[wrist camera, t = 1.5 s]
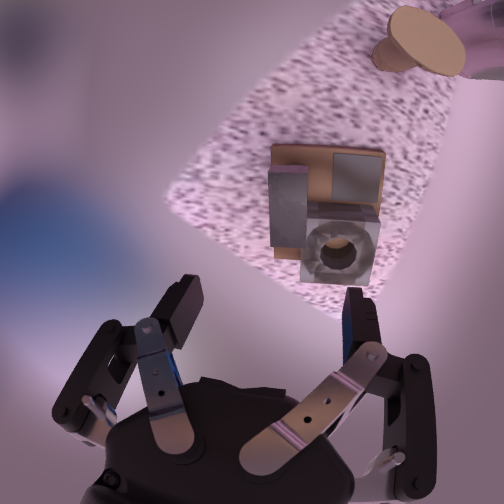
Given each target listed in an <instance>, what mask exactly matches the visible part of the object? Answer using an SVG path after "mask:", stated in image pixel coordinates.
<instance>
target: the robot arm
mask: <svg viewBox="0 0 504 504" xmlns="http://www.w3.org/2000/svg"><path fill="white" fill-rule="evenodd" d="M440 20H441V21H443V22H444V23H445V24H447V25H448V26H449V27H450V28H451V29H452V30H453V32H454V33H455V34H456V35H457V37H458V38H459V40H460V41H461V43H462V44H463V45H464V48H465V53H466V60H465V64H464V67H463V69H462V70H461V72H460V73H459V74H458V75H460V76H462V77H465V78H469V79H488V80H501V81H504V0H485V1H482V0H465V1H462V2H460V3H458V4H456V5H454V6H452V7H450V8H448V9H446V10H444V11H442V12H440ZM203 301H204V296H203V291H202V287H201V283H200V278H199V276H198V275H192V274H185V275H184V276H183V277H182V279H181V280H180V282H175V283H174V284H173V285H172V286H170V287H169V288H168V289H167V291H166V293H165V295H164V296H163V297H162V300H160V302H159V303H158V305H157V306H156V308H155V309H154V311H153V313H152V314H151V316H150V317H147V318H143V319H141V320H140V321H138V322H137V323H136V325H135V326H122V325H121V323H120V322H119V321H118V320H115V319H112V320H108V321H106V322H104V323H103V324H102V325H101V327H100V328H99V330H98V331H97V333H96V334H95V336H94V337H93V339H92V341H91V342H90V344H89V345H88V347H87V349H86V350H85V352H84V354H83V355H82V357H81V358H80V360H79V362H78V363H77V365H76V367H75V368H74V370H73V372H72V373H71V375H70V377H69V379H68V380H67V382H66V384H65V386H64V388H63V389H62V391H61V393H60V395H59V396H58V398H57V400H56V402H55V404H54V406H53V408H52V417H53V420H54V421H55V422H56V423H58V424H59V425H60V426H61V427H63V428H64V429H65V430H66V431H67V432H68V433H70V434H71V435H72V436H74V437H75V438H77V439H78V440H81V441H82V442H84V443H85V444H87V445H88V446H98V447H100V448H103V449H105V451H106V462H105V469H104V471H103V473H102V475H101V476H100V477H99V479H98V480H97V481H96V482H94V483H93V484H92V485H91V486H90V487H89V488H88V489H87V490H86V492H85V494H84V496H83V498H82V500H81V503H80V504H374V503H380V504H404V503H408V502H411V501H415V500H418V499H421V498H424V497H426V496H427V495H428V494H430V493H431V492H432V490H433V489H434V487H435V484H436V473H437V472H436V471H437V436H436V417H435V405H434V395H433V387H432V379H431V372H430V365H429V363H428V361H427V359H426V358H425V357H423V356H422V355H419V354H410V355H408V356H407V357H406V358H405V359H404V358H400V357H397V356H393V355H391V354H389V353H388V352H387V350H386V348H385V347H384V346H383V345H382V342H381V336H380V330H379V323H378V317H377V311H376V306H375V304H374V302H373V301H372V300H371V298H363V293H362V288H357V287H347V291H346V296H345V301H344V306H343V311H342V335H343V366H342V367H341V368H340V369H339V370H338V371H337V372H332V373H331V374H330V375H329V376H328V377H327V378H325V379H324V381H322V382H321V384H319V385H318V386H317V387H316V388H315V389H314V390H313V391H312V392H311V393H310V394H309V395H308V396H307V397H305V398H304V399H303V400H302V401H301V402H299V401H297V400H295V399H294V398H292V397H289V396H286V390H285V389H276V388H268V387H259V388H246V389H241V388H238V387H235V386H233V385H231V384H228V383H226V382H224V381H221V380H217V379H212V378H207V377H201V379H200V381H199V382H194V383H189V384H185V385H183V382H182V380H181V377H180V374H179V372H178V369H177V366H176V363H175V360H174V357H173V354H172V351H173V349H174V348H176V349H180V350H181V349H182V347H183V345H184V343H185V341H186V339H187V337H188V335H189V333H190V331H191V329H192V326H193V324H194V322H195V320H196V318H197V316H198V314H199V312H200V310H201V308H202V306H203ZM113 355H114V357H113ZM112 357H113V358H112ZM111 358H112V360H111ZM110 360H111V362H110ZM109 362H110V364H109ZM137 363H138V368H139V372H140V377H141V381H142V386H143V390H144V394H145V398H146V402H147V407H145V408H143V409H142V410H140V411H138V412H136V413H135V414H133V415H131V416H129V417H128V418H126V419H124V420H122V421H120V422H119V423H117V422H116V420H117V414H116V412H115V409H116V407H117V405H118V403H119V400H120V398H121V396H122V394H123V391H124V389H125V388H126V385H127V383H128V381H129V379H130V377H131V375H132V373H133V371H134V369H135V366H136V364H137ZM108 364H109V366H108ZM367 393H371V394H374V395H377V396H381V397H384V434H383V450H382V452H381V453H380V454H379V455H377V456H376V457H375V458H373V459H372V460H371V461H370V462H369V464H368V466H367V470H366V472H365V474H364V475H363V476H362V477H361V478H354V476H353V474H352V472H351V470H350V469H349V467H348V466H347V465H346V464H345V462H344V461H343V459H342V458H341V456H340V455H339V454H338V452H337V451H336V450H335V448H334V447H333V445H332V444H331V443H330V441H329V440H328V438H329V437H330V436H331V435H332V434H333V433H334V432H335V431H336V430H337V429H338V427H339V426H340V425H341V424H342V423H343V422H344V420H345V419H346V418H347V417H348V415H349V414H350V413H351V412H352V411H353V410H354V409H355V407H356V406H357V405H358V404H359V403H360V402H361V400H362V399H363V398H364V397H365V396H366V394H367Z"/></svg>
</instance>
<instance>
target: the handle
mask: <svg viewBox="0 0 504 504" xmlns="http://www.w3.org/2000/svg"><path fill="white" fill-rule="evenodd" d="M387 33H388V37H387V38H385V39H383V40H382V41H380V42H379V43H378V44H377V45H376V47H375V48H374V51H373V55H372V56H371V60H372V61H373V62H374V63H375V64H376V66H377V69H379V70H381V71H384V70H385V71H388V72H401V71H405V70H408V69H410V68H413V67H415V66H418V67H419V68H422V69H424V70H426V71H428V72H431V73H435V74H439V75H443V76H448V77H452V76H455V75H457V74H459V73H460V72H461V70H462V69H463V67H464V64H465V60H466V53H465V48H464V45H463V44H462V43H461V41H460V40H459V38H458V37H457V35H456V34H455V33H454V32H453V30H452V29H451V28H450V27H449V26H448V25H447V24H445V23H444V22H443V21H441V20H440V19H439V18H437V17H436V16H434V15H433V14H431V13H429V12H427V11H425V10H422V9H419V8H415V7H410V6H406V5H404V6H401V7H400V8H398V9H397V10H396V11H395V12H394V13H393V14H392V15H391V17H390V19H389V21H388V24H387Z"/></svg>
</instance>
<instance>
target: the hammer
mask: <svg viewBox="0 0 504 504" xmlns="http://www.w3.org/2000/svg"><path fill="white" fill-rule="evenodd" d="M268 188H269V216H270V247H285V248H302V249H306V235H307V208H308V166H302V165H300V164H291V165H272V166H271V168H270V169H269V171H268Z"/></svg>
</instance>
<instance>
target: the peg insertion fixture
mask: <svg viewBox="0 0 504 504" xmlns="http://www.w3.org/2000/svg"><path fill="white" fill-rule="evenodd" d="M385 158H386V153H385V152H384V151H382V150H376V149H366V148H356V147H344V146H329V145H307V144H273V145H272V146H271V165H291V164H300V165H302V166H308V208H307V235H306V249H302V248H285V247H274V259H290V260H301V266H300V282H305V283H321V284H337V285H355V286H368V283H369V279H370V275H371V271H372V266H373V262H374V257H375V252H376V247H377V242H378V236H379V231H380V225H381V223H380V220H379V218H378V217H379V210H380V203H381V196H382V187H383V179H384V169H385Z"/></svg>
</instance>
